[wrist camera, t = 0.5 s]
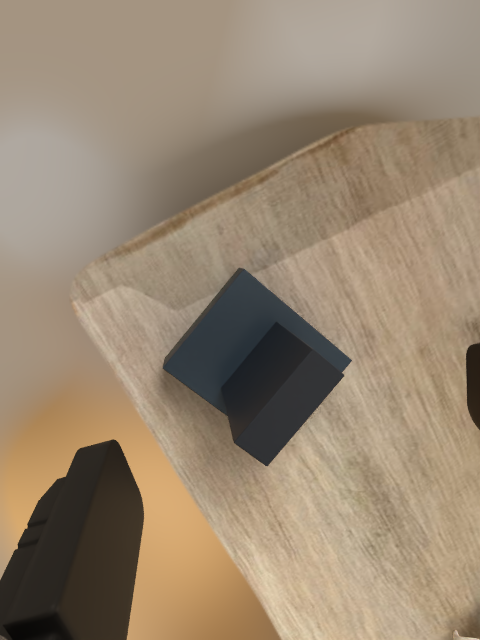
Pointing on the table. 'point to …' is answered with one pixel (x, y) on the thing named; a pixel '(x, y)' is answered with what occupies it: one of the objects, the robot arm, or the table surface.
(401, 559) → the table surface
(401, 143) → the table surface
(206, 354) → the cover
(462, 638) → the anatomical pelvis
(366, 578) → the table surface
